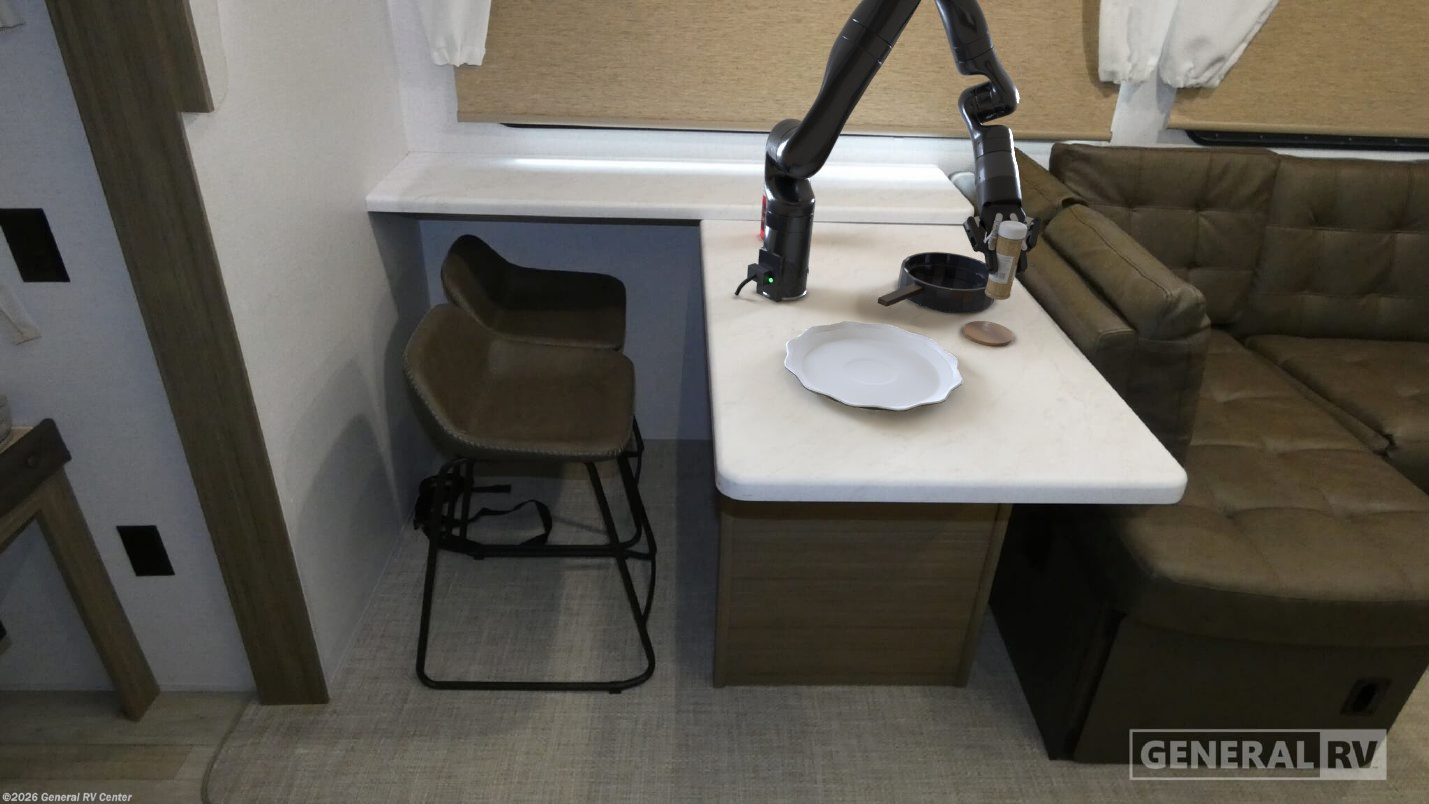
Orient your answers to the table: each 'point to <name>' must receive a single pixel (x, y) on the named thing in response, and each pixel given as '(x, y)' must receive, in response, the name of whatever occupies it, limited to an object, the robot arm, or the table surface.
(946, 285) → the pan
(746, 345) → the table surface
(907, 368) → the plate
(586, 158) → the table surface
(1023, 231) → the sprinkles bottle
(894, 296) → the pan handle
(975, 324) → the coaster
